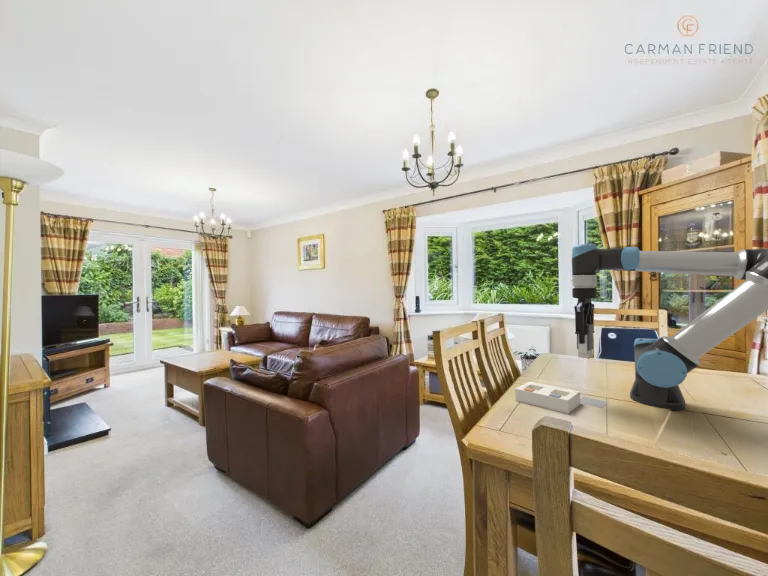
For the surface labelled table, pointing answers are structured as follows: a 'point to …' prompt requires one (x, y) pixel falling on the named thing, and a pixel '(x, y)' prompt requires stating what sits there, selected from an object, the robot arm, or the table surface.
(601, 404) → the mat
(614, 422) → the table surface
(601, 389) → the table surface
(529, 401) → the socket block
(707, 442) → the table surface
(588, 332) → the grey tall block
